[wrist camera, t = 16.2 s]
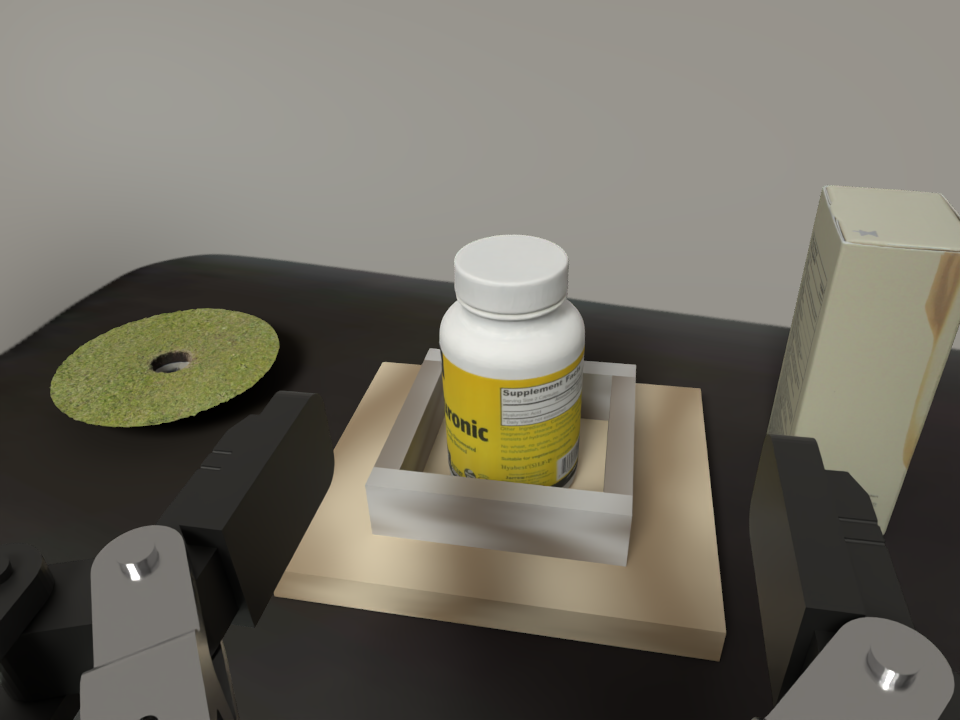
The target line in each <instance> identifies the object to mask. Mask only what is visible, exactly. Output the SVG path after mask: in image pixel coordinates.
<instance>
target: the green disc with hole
mask: <svg viewBox="0 0 960 720" xmlns="http://www.w3.org/2000/svg"><path fill="white" fill-rule="evenodd" d="M279 348H280V347H279V339H278V337H277V334H276V332H275V330H274V329H273V328H272V327H271V326H270V325H268V323H266V322H265V321H263V320H262V319H259V318H257V317H255V316H252V315H249V314H245V313H242V312H235V311H233V312H232V311H230V310H224V309H211V308H205V309H197V310H194V309H190V310H187V311H183V312H181V311H178V312H174V313H164V314H161V315H155V316H153V317H150V318H144V319H142V320H138V321H136V322H132V323H130V322H129V323H127V324H126V325H122V326H121V327H118V328H114V329H112V330H110V331H109V332H107V333H105V334H102V335H100V336H98V337H97V338H95V339H93V340H91V341H89V342H88V343H85V344H84V345H83V346H80V347H79V348H78V349H77V350H76V351H75V352H74V354H73V355H70V356H69V357H68V358H67V360H65V361H64V362H63V364H62V365H61V366H60V367H59V368H58V369H57V371H56V372H57V373H56V374H54V377H53V380H52V381H51V387H50V389H51V390H50V394H51V397H52V400H53V402H54V404H55V405H56V406H57V407H58V408H59V409H60V410H61V411H62V412H63V413H66V414H67V415H68V416H69V417H72V418H73V419H74V420H80V421H83V422H86V423H88V424H95V425H101V426H111V427H132V426H148V425H157V424H161V423H167V422H171V421H175V420H178V419H180V418H186V417H188V416H195V415H196V414H197V413H198V412H200V411H203V410H208V409H209V408H212V407H214V406H216V405H219V404H220V403H222V402H225V401H227V402H228V400H229V399H230V398H233V397H235V396H236V395H238V394H241V393H242V392H244V391H246V389H248V388H250V387H252V386H253V385H254V384H255V383H256V382H257V381H258V380H259V379H260V378H261V377H263V376H264V374H265V373H266V372H267V371H268V370H269V369H270V368H271V366H272V364H273V363H274V361H275V360H276V356H277V354H278V350H279Z"/></svg>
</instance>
